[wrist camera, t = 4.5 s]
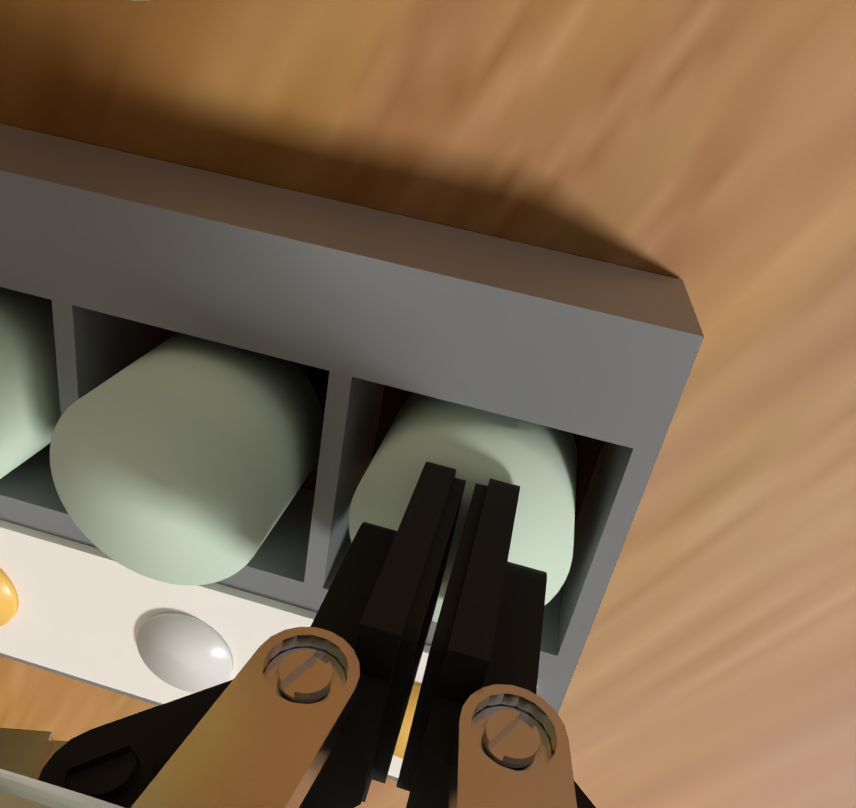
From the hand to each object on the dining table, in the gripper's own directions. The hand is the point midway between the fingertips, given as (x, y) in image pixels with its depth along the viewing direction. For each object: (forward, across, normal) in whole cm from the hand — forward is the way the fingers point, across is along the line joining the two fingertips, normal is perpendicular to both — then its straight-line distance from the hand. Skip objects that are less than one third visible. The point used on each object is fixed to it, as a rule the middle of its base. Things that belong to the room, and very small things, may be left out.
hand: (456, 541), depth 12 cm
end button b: (+3, 0, 0) cm, 3 cm away
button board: (+4, +5, +2) cm, 7 cm away
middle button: (+2, +5, 0) cm, 6 cm away
